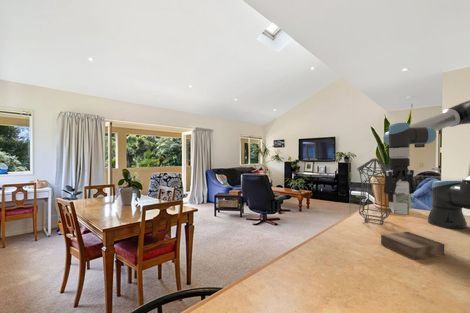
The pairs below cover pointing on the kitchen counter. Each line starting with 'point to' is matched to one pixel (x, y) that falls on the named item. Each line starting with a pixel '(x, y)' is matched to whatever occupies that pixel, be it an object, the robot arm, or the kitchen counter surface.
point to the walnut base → (412, 245)
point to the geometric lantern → (369, 187)
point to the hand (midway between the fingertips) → (399, 208)
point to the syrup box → (402, 198)
